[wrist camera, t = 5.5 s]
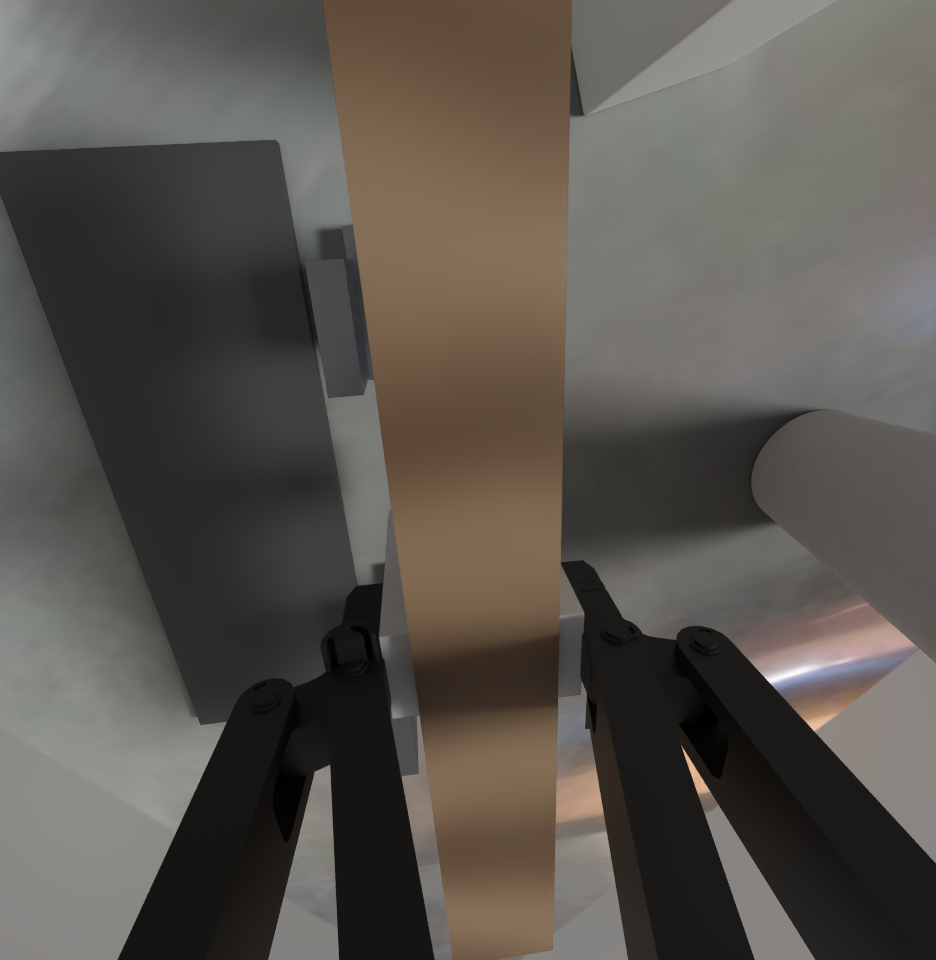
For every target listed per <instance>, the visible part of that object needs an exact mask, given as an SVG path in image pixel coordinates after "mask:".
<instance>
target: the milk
mask: <svg viewBox="0 0 936 960" xmlns="http://www.w3.org/2000/svg"><path fill="white" fill-rule="evenodd" d="M834 1H836V0H572V29H571V47H572V53H573V58H574V64H575V69H576V75H577V80H578V86H579V91H580V97H581V103H582V108H583V113H584V115H585V116H587V115H590V114H593V113H596V112H599V111H601V110H604V109H607V108H610V107H613V106H615V105H618V104H621V103H624V102H627V101H630V100H632V99H635V98H638V97H641V96H644V95H647V94H649V93H652V92H655V91H658V90H661V89H664V88H666V87H669V86H672V85H675V84H678V83H680V82H683V81H686V80H689V79H692V78H695V77H697V76H700V75H703V74H706V73H709V72H712V71H714V70H717V69H720V68H723V67H725V66H727V65H729V64H731V63H733V62H734V61H736V60H738V59H739V58H741V57H743V56H744V55H746V54H748V53H749V52H751V51H753V50H754V49H756V48H758V47H759V46H761V45H763V44H764V43H766V42H768V41H769V40H771V39H773V38H774V37H776V36H778V35H779V34H781V33H783V32H784V31H786V30H788V29H789V28H791V27H793V26H794V25H796V24H798V23H799V22H801V21H803V20H804V19H806V18H808V17H809V16H811V15H813V14H814V13H816V12H818V11H819V10H821V9H823V8H824V7H826V6H828V5H829V4H831V3H833V2H834Z"/></svg>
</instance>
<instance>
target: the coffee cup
mask: <svg viewBox="0 0 936 960" xmlns="http://www.w3.org/2000/svg"><path fill="white" fill-rule="evenodd" d="M751 488H752V493H753V497H754V499H755V501H756V503H757V505H758V506H759V507H760V508H761V510H762V511H764V512H765V513H766V514H767V515H768V516H769V517H770V518H771V519H773V520H774V521H775V522H776V523H777V524H778V525H779V526H781V527H782V528H783V529H784V530H785V531H786V532H787V533H789V534H790V535H791V536H792V537H793V538H794V539H796V540H797V541H798V542H799V543H800V544H801V545H802V546H804V547H805V548H806V549H807V550H808V551H809V552H810V553H812V554H813V555H814V556H815V557H816V558H817V559H818V560H820V561H821V562H822V563H823V564H824V565H825V566H826V567H828V568H829V569H830V570H831V571H832V572H833V573H834V574H836V575H837V576H838V577H839V578H840V579H841V580H842V581H844V582H845V583H846V584H847V585H848V586H849V587H850V588H851V589H853V590H854V591H855V592H856V593H857V594H858V595H859V596H861V597H862V598H863V599H864V600H865V601H866V602H867V603H869V604H870V605H871V606H872V607H873V608H874V609H875V610H877V611H878V612H879V613H880V614H881V615H882V616H883V617H885V618H886V619H887V620H888V621H889V622H890V623H891V624H892V625H894V626H895V627H896V628H897V629H898V630H899V631H900V632H902V633H903V634H904V635H905V636H906V637H907V638H908V639H909V640H911V641H912V642H913V643H914V644H915V645H916V646H917V647H918V648H920V649H921V650H922V651H923V652H924V653H925V654H926V655H928V656H929V657H930V658H931V659H932V660H933V661H934V662H935V663H936V434H933V433H929V432H925V431H920V430H916V429H912V428H907V427H903V426H899V425H895V424H890V423H886V422H882V421H878V420H873V419H869V418H865V417H861V416H856V415H852V414H848V413H843V412H839V411H834V410H818V411H813V412H809V413H806V414H803V415H801V416H799V417H797V418H795V419H793V420H791V421H789V422H788V423H786V424H785V425H784V426H782V427H781V428H780V429H779V430H777V431H776V432H775V433H774V434H773V435H772V436H771V437H770V439H769V440H768V441H767V442H766V444H765V445H764V446H763V448H762V449H761V451H760V453H759V455H758V457H757V459H756V461H755V464H754V467H753V471H752V477H751Z"/></svg>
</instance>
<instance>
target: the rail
mask: <svg viewBox="0 0 936 960" xmlns="http://www.w3.org/2000/svg"><path fill="white" fill-rule="evenodd" d="M322 1H323V8H324V16H325V23H326V30H327V38H328V45H329V52H330V60H331V67H332V74H333V82H334V89H335V96H336V104H337V111H338V118H339V126H340V133H341V140H342V148H343V155H344V163H345V170H346V177H347V185H348V192H349V199H350V207H351V214H352V221H353V229H354V236H355V243H356V251H357V258H358V265H359V273H360V280H361V287H362V295H363V302H364V309H365V317H366V324H367V332H368V339H369V346H370V354H371V361H372V368H373V376H374V383H375V390H376V398H377V405H378V412H379V420H380V427H381V434H382V442H383V449H384V456H385V464H386V471H387V478H388V486H389V493H390V501H391V508H392V515H393V523H394V530H395V537H396V545H397V552H398V559H399V567H400V574H401V581H402V589H403V596H404V603H405V611H406V618H407V625H408V633H409V640H410V647H411V655H412V662H413V670H414V677H415V684H416V692H417V699H418V706H419V714H420V721H421V728H422V736H423V743H424V750H425V758H426V765H427V772H428V780H429V787H430V794H431V802H432V809H433V816H434V824H435V831H436V839H437V846H438V853H439V861H440V868H441V875H442V883H443V890H444V897H445V905H446V912H447V919H448V927H449V934H450V941H451V949H452V956H453V960H496V959H502V958H508V957H514V956H520V955H526V954H532V953H538V952H544V951H550V950H553V922H554V872H555V823H556V773H557V723H558V674H559V624H560V575H561V525H562V475H563V426H564V376H565V327H566V277H567V227H568V178H569V128H570V78H571V29H572V0H322Z"/></svg>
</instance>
